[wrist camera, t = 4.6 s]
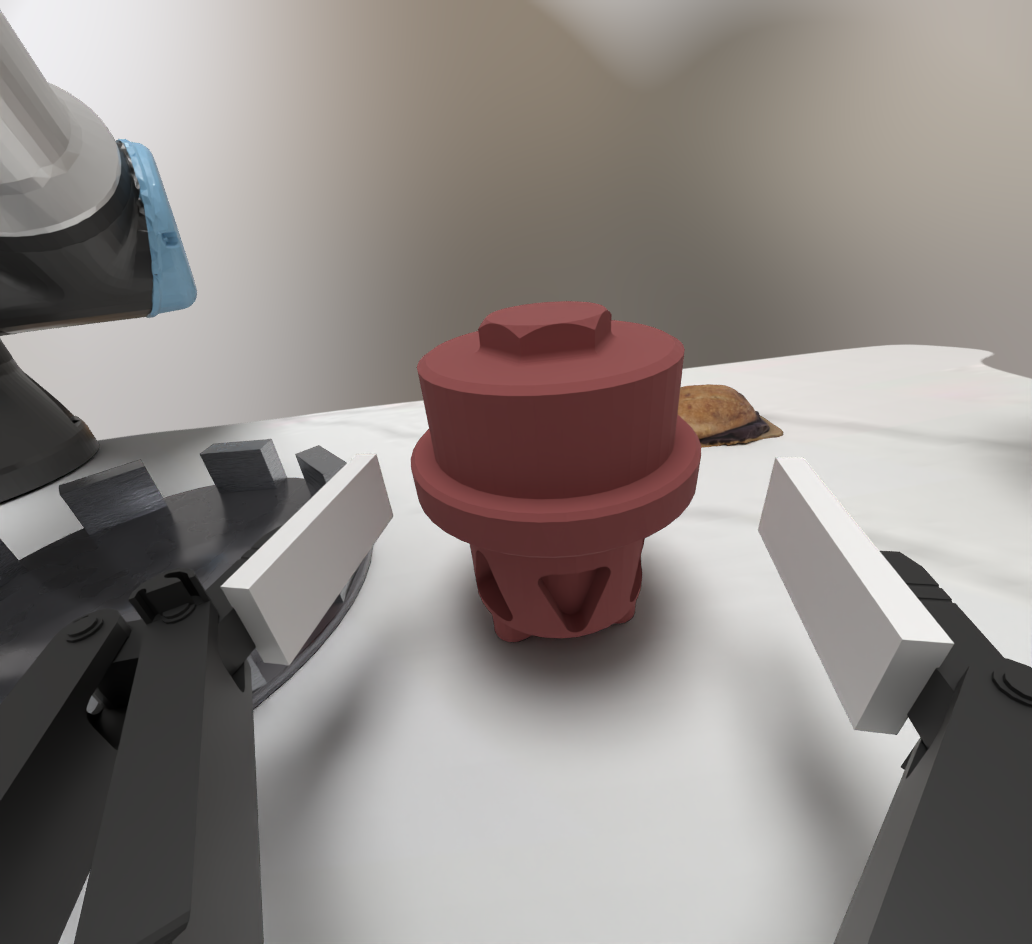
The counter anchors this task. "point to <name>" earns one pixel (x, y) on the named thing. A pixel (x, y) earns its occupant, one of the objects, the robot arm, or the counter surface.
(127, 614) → the castellated collar
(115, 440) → the counter surface
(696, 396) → the bread roll
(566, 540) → the mechanical component
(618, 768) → the counter surface
